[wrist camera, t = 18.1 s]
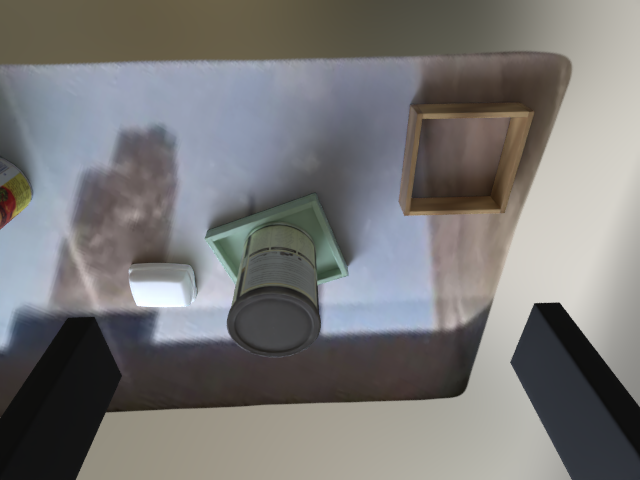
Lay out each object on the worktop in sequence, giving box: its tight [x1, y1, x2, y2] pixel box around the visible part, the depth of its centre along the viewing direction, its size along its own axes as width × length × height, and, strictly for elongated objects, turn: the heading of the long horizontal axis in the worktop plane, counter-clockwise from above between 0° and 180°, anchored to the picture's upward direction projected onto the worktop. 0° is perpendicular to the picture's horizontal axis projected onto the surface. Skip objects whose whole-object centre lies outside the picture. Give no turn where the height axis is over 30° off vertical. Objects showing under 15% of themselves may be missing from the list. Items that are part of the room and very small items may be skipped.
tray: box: [205, 193, 349, 285], centre depth 55 cm, size 16×13×2 cm
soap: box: [129, 263, 197, 307], centre depth 57 cm, size 9×7×3 cm
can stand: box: [399, 102, 535, 216], centre depth 47 cm, size 13×13×4 cm
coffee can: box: [227, 222, 321, 357], centre depth 49 cm, size 10×10×14 cm
